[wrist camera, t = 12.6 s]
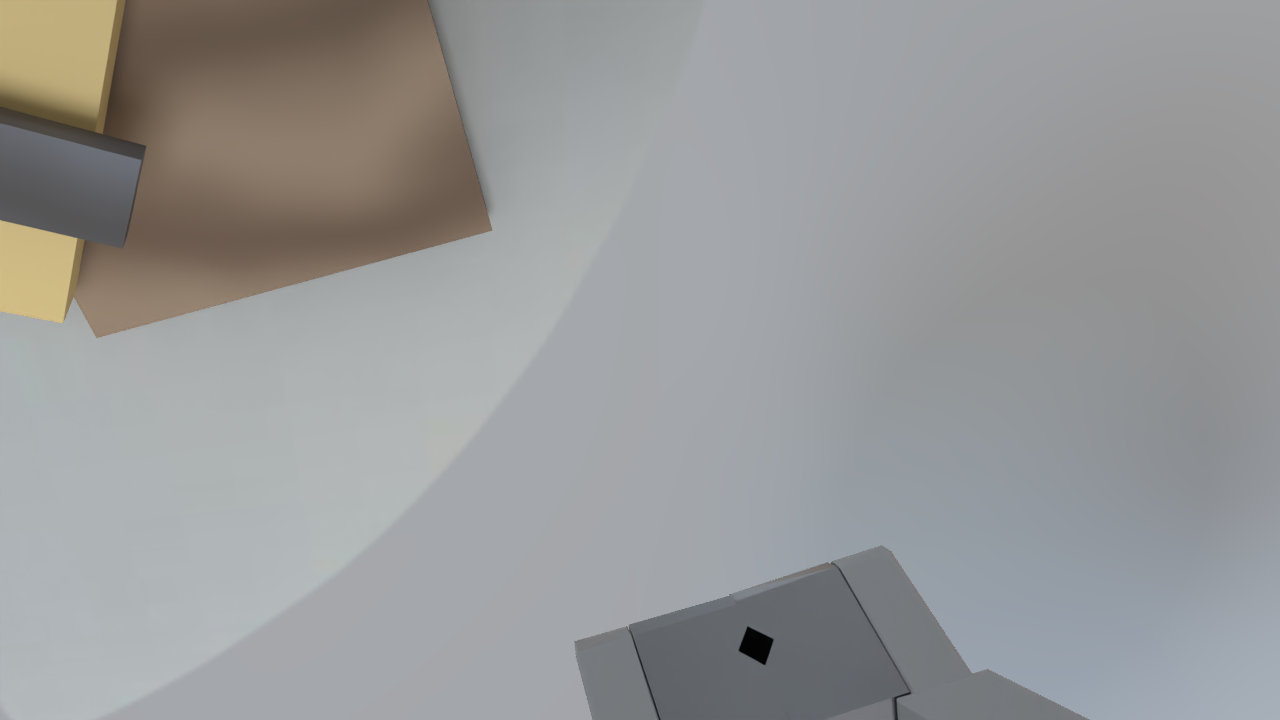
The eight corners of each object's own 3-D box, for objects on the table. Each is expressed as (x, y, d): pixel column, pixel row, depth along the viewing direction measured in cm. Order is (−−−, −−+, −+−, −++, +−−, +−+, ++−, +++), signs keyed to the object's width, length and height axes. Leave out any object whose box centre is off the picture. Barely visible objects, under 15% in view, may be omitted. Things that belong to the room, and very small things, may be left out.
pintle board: (-273, -272, 30) (-406, -259, 25) (316, -393, 32) (315, -407, 27) (64, 328, 42) (24, 431, 36) (487, 214, 43) (512, 295, 38)
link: (32, -304, 30) (12, -302, 28) (186, -244, 32) (178, -239, 30) (-37, 267, 38) (-57, 300, 36) (91, 293, 39) (79, 326, 37)
